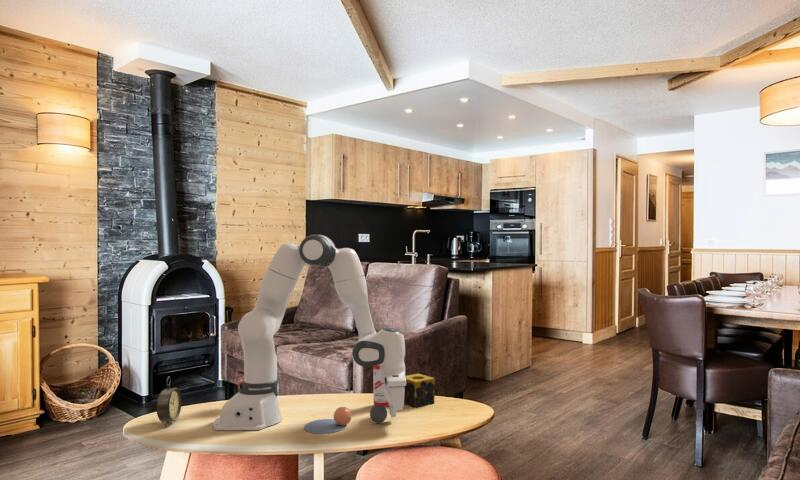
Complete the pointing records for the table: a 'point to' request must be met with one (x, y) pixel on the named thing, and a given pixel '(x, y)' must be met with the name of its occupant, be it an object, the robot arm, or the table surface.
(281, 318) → the robot arm
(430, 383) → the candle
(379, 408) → the gray ball
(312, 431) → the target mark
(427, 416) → the table surface
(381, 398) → the beer can
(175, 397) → the alarm clock
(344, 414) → the terracotta egg
